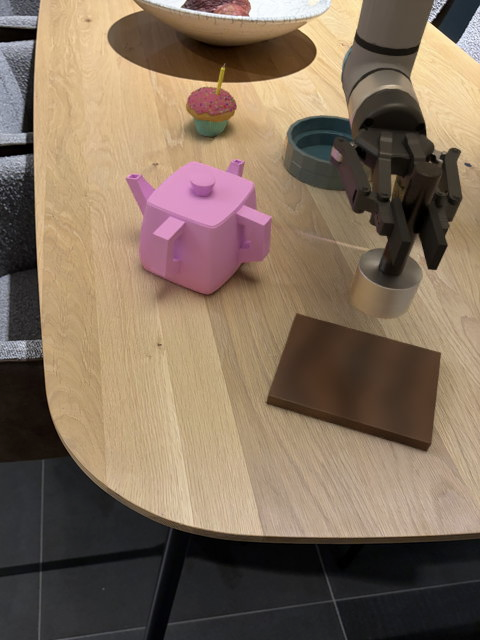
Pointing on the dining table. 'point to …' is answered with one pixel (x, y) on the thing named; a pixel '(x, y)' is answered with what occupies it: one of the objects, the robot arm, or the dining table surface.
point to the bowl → (316, 150)
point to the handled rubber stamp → (376, 265)
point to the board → (358, 381)
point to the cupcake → (211, 108)
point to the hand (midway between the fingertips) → (419, 255)
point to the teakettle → (200, 225)
